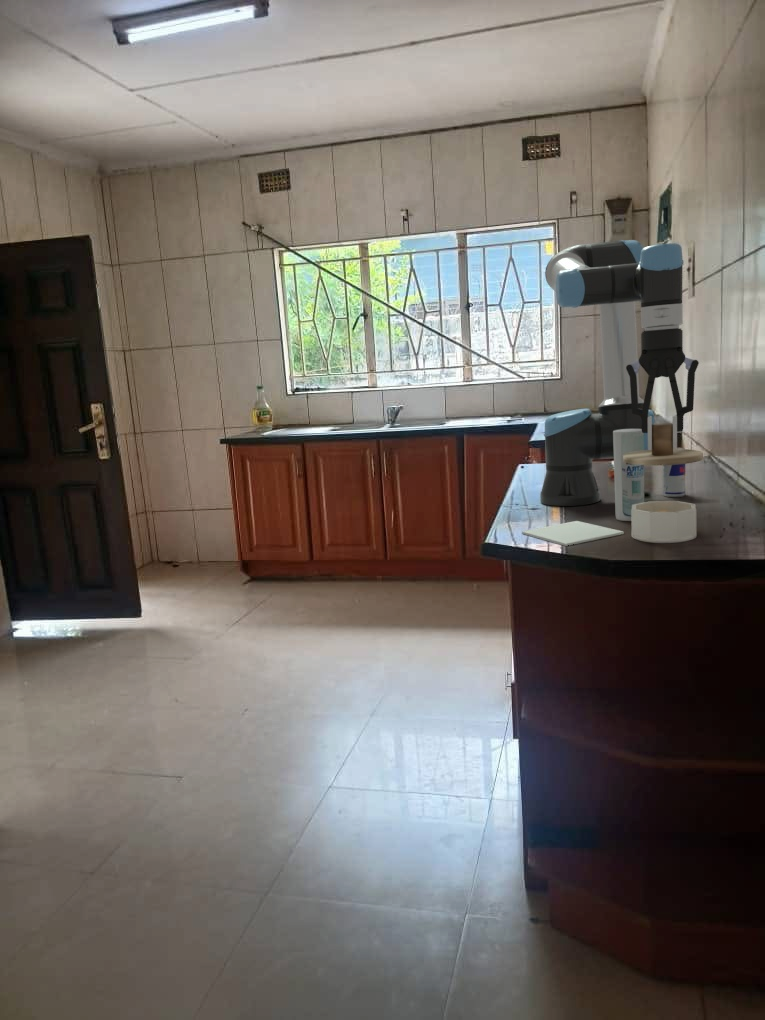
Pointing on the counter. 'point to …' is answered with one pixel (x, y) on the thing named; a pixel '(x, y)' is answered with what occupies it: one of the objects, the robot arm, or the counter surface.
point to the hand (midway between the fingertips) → (662, 448)
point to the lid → (663, 450)
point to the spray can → (627, 472)
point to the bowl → (663, 521)
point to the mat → (572, 533)
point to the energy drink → (674, 480)
